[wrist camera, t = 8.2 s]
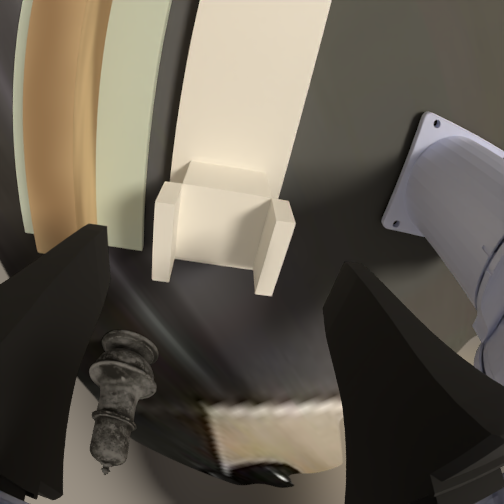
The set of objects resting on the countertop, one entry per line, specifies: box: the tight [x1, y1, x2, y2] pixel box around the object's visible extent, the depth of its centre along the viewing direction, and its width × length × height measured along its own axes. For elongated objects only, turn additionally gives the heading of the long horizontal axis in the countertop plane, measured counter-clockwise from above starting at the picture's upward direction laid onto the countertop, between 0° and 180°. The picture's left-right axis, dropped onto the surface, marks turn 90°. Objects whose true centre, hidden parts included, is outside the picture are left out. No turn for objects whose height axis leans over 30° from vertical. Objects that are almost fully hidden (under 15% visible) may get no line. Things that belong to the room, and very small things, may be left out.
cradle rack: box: [152, 0, 331, 296], centre depth 11 cm, size 6×26×6 cm, turn 168°
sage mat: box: [13, 0, 172, 251], centre depth 12 cm, size 9×26×1 cm, turn 168°
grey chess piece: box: [89, 330, 158, 475], centre depth 22 cm, size 6×6×12 cm
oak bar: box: [23, 0, 113, 254], centre depth 10 cm, size 3×24×3 cm, turn 168°
